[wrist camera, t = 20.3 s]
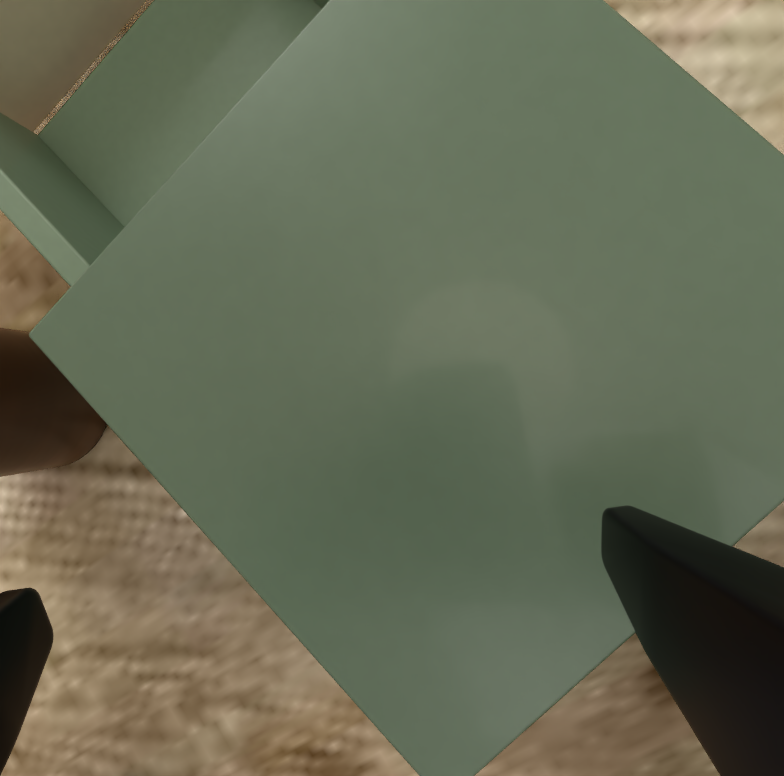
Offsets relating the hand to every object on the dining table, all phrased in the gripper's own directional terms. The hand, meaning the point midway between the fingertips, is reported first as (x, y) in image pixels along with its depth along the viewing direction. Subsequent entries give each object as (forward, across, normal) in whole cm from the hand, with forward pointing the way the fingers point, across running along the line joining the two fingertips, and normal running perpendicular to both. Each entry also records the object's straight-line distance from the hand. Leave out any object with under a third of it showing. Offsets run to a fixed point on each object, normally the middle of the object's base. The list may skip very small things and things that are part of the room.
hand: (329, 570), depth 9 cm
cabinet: (+12, -4, 0) cm, 13 cm away
